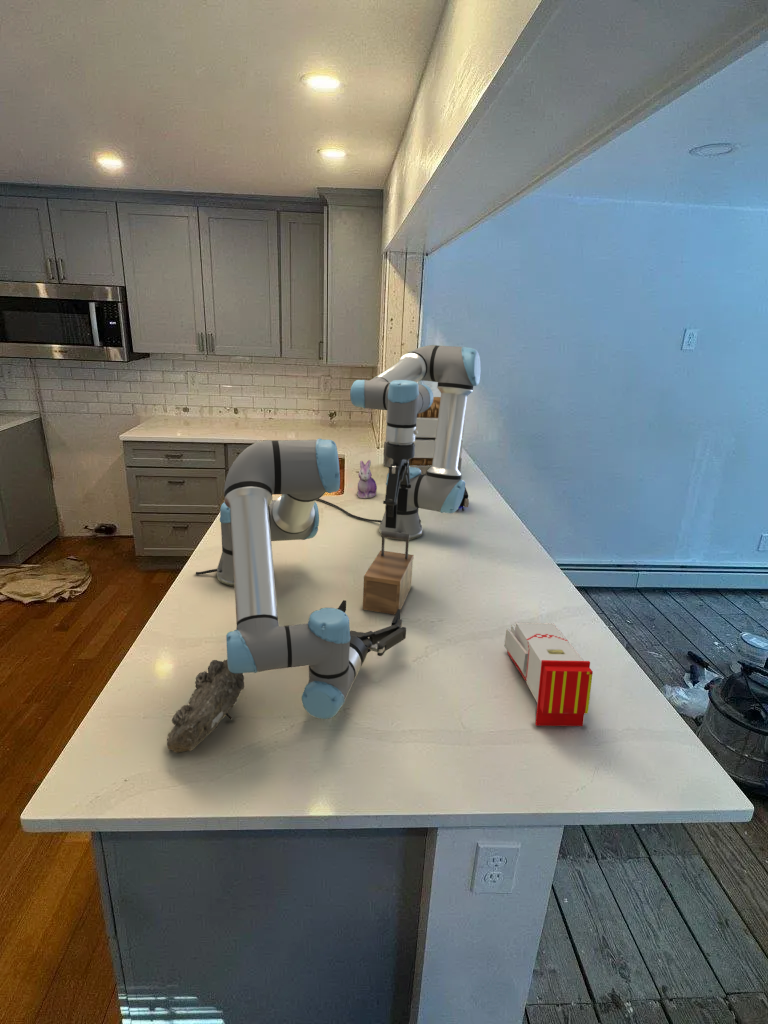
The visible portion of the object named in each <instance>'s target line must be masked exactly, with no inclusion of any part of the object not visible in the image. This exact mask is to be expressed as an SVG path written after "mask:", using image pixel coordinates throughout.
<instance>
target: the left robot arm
mask: <svg viewBox="0 0 768 1024" xmlns="http://www.w3.org/2000/svg"><path fill="white" fill-rule="evenodd" d="M340 473H341V471H340V461H339V453H338V446H337V444H336V442H335V441H334V440H332V439H323V438H317V439H285V440H284V439H275V440H273V439H272V440H271V439H264V440H260V441H257V442H254V443H252V444H250V445H249V446H247V447H246V448H245V449H243V451H241V453H239V454H238V455H237V456H236V458H235V460H234V461H233V462H232V464H231V466H230V467H229V470H228V472H227V474H226V477H225V482H224V487H223V496H224V498H223V499H224V502H222V504H221V506H220V508H219V509H220V510H219V516H220V517H219V522H220V535H221V554H220V559H219V562H218V565H217V567H216V568H213V569H207V570H202V571H196V572H195V575H196V576H199V575H201V576H202V575H205V574H206V575H207V574H210V573H216V578H217V580H218V581H219V582H220V583H221V584H223V585H225V586H230V587H234V599H235V600H234V604H235V618H236V619H235V621H236V623H235V624H236V629H233V630H232V631H229V632H227V633H226V637H225V638H226V639H225V640H226V660H227V662H228V669H229V671H230V672H232V673H243V674H251V673H254V674H256V673H260V672H267V671H272V670H281V669H290V668H299V667H308V683H306V685H305V686H304V690H303V691H302V694H301V703H302V706H303V708H304V710H305V711H306V712H307V713H308V715H310V716H312V717H314V718H317V719H320V720H321V719H322V720H329V719H332V718H333V717H335V716H336V715H337V714H338V712H339V711H340V710H341V708H342V706H343V705H344V704H345V702H346V699H347V697H348V694H349V692H350V690H351V688H352V686H353V684H354V681H356V678H357V676H358V673H359V671H360V670H361V667H362V666H363V664H364V661H365V660H366V658H367V655H368V654H369V653H370V652H375V653H376V655H377V656H378V657H382V656H384V655H385V652H387V651H388V650H390V649H391V648H393V647H394V646H396V645H398V644H400V643H401V642H403V641H404V640H405V639H406V638H407V627H406V626H403V620H402V618H401V617H402V615H401V614H402V608H401V609H398V610H397V612H396V614H395V615H394V617H393V618H392V621H391V625H389V626H386V627H383V628H381V629H378V630H374V631H372V630H369V631H366V632H362V631H356V630H351V627H350V618H349V616H348V614H347V613H346V612H347V600H344V599H343V600H342V601H341V603H340V604H339V606H338V607H337V608H336V607H323V608H321V607H320V609H318V610H313V612H311V613H310V614H309V617H308V621H307V623H298V624H290V625H288V624H287V625H279V624H280V623H279V614H278V613H279V612H278V603H277V592H276V580H275V568H274V557H273V547H272V546H273V545H272V542H278V541H279V542H281V541H282V542H283V541H298V540H299V541H306V540H309V539H313V538H314V537H316V536H317V534H318V531H319V525H320V514H319V512H320V511H319V506H318V504H317V501H318V500H317V499H322V497H323V496H325V494H326V493H327V494H332V493H336V492H339V490H340V488H341V474H340ZM273 495H280V496H279V497H278V498H277V499H273Z"/></svg>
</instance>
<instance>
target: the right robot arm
mask: <svg viewBox="0 0 768 1024" xmlns="http://www.w3.org/2000/svg"><path fill="white" fill-rule="evenodd" d="M481 370H482V365H481V358H480V354H479V352H478V350H477V349H476V348H474V347H467V346H454V345H437V344H429V345H424V346H420V347H418V348H415V349H412V350H410V351H407V352H406V353H404V354H403V355H402V356H401V357H400V358H399V360H398V362H396V363H395V364H393V365H392V366H390V367H388V368H387V369H385V370H384V371H382V372H380V373H379V374H378V375H376V376H375V377H372V378H371V379H369V380H367V379H356V380H354V381H353V383H352V384H351V387H350V392H349V393H350V395H349V396H350V402H351V404H352V405H353V406H354V407H357V408H363V409H364V410H365V409H369V410H380V411H387V410H388V415H387V423H386V426H387V432H386V431H385V438H386V440H387V441H388V442H387V443H386V456H387V457H388V458H392V459H393V464H391V465H390V466H389V467H388V473H387V475H386V482H385V496H384V500H383V501H382V504H383V505H385V507H384V508H385V509H384V513H383V515H382V519H373V518H371V519H370V518H366V517H361V516H358V515H355V514H353V513H350V512H348V510H345V509H344V508H342V507H340V506H338V505H336V504H334V503H332V502H330V501H327V500H325V499H322V498H319V499H317V500H316V501H318V502H322V503H324V504H327V505H329V506H332V507H334V508H336V509H338V510H339V511H341V512H343V513H345V514H346V515H348V516H349V517H352V518H354V519H358V520H361V521H365V522H370V523H379V526H378V533H379V534H380V535H381V532H382V531H389V532H397V533H405V534H410V540H415V539H418V538H420V537H421V536H422V535H423V525H422V524H421V522H422V521H421V518H420V515H419V509H420V510H427V511H433V512H438V513H441V514H443V513H445V514H454V513H456V512H457V511H458V509H460V508H459V506H460V504H461V501H462V499H463V495H464V491H465V487H466V481H465V480H463V479H462V473H460V472H459V470H458V461H459V454H460V447H461V440H462V439H463V438H462V432H463V424H464V425H465V421H464V420H465V416H466V408H467V401H468V397H469V395H470V394H472V393H473V391H474V387H477V386H478V385H479V384H480V381H481V375H482V374H481V373H482V372H481ZM422 381H423V382H432V383H437V386H436V388H437V390H438V391H439V392H440V397H441V399H440V407H439V415H438V423H437V431H436V438H435V446H434V454H433V462H432V465H430V466H429V468H428V469H427V470H426V473H425V474H424V473H423V474H422V470H421V468H419V467H416V466H409V459H412V458H413V457H414V454H415V444H414V443H413V442H414V441H415V434H418V431H417V430H416V431H415V429H416V421H417V414H419V413H422V412H425V411H426V410H427V409H428V408H429V407H430V406H431V405H432V403H433V399H434V398H433V397H434V392H433V390H432V389H431V387H429V386H428V385H427V384H425V383H419V382H422ZM463 433H464V432H463ZM389 540H395V541H402V540H401V539H393V538H389ZM410 540H409V541H410Z"/></svg>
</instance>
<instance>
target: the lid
mask: <svg viewBox="0 0 768 1024" xmlns="http://www.w3.org/2000/svg"><path fill="white" fill-rule="evenodd" d="M380 538H381V547H380V548H381V550H379V552H378V554H377V555H376V557H375V558H374V560H373V562H372V563H370V566H369V567H368V569H367V571H366V572H365V574H364V575H363V581H364V580H368V581H374V582H381V583H387V584H394V585H401V583H402V580H403V578H404V576H405V574H406V572H407V570H408V568H409V566H410V564H411V562H412V560H414V554H409V548H410V547H409V545H410V534H405V533H397V532H389V531H382V532H381V534H380ZM386 538H387V539H390V538H393V539H392V540H395V539H401V540H400V541H405V550H404V553H402V552H394V551H387V550H385V543H386V542H385V541H386Z"/></svg>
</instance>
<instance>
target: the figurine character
mask: <svg viewBox="0 0 768 1024" xmlns="http://www.w3.org/2000/svg"><path fill="white" fill-rule="evenodd" d="M469 505H470V500H469V492H468V490H467V488H466V486H465V491H464V495H463V499H462V501H461V504H460V506H459V508H458V509H461V511H462V512H464V511H465V508H469Z"/></svg>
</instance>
